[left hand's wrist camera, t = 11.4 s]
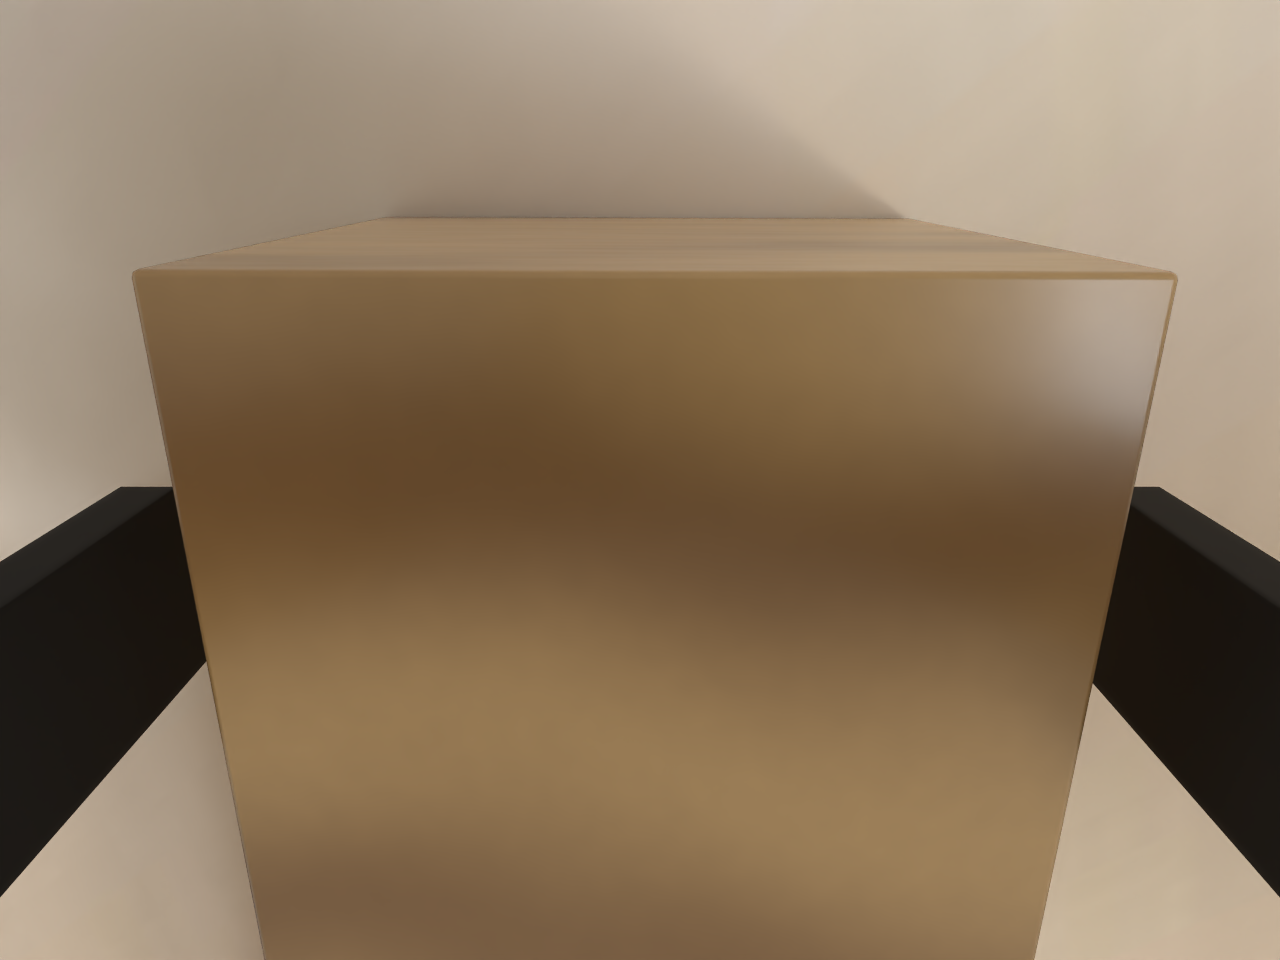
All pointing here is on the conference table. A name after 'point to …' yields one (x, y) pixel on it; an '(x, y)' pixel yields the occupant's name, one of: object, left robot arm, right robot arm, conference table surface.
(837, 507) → the wide beam
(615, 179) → the conference table surface
